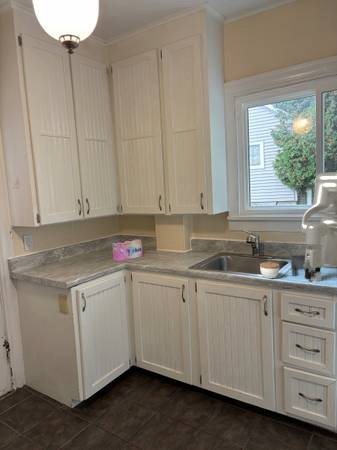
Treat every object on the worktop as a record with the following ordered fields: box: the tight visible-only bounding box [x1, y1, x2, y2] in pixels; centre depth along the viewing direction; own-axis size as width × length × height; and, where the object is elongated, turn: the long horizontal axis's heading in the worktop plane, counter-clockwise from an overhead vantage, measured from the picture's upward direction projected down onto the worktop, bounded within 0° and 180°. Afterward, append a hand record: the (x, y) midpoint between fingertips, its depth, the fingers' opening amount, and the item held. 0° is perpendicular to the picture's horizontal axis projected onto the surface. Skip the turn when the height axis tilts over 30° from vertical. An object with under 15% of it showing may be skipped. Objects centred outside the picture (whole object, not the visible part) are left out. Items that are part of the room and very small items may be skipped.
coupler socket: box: [290, 254, 313, 277], centre depth 200 cm, size 18×11×9 cm, turn 162°
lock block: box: [303, 269, 322, 283], centre depth 184 cm, size 7×5×5 cm
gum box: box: [111, 238, 144, 262], centre depth 261 cm, size 24×8×14 cm, turn 129°
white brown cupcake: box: [259, 261, 280, 279], centre depth 192 cm, size 11×11×9 cm
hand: (312, 277), depth 184 cm, fingers open, 9 cm apart
